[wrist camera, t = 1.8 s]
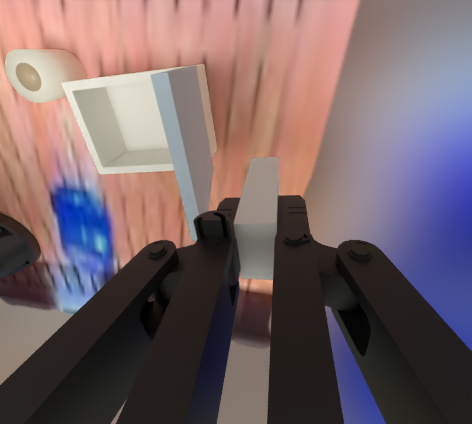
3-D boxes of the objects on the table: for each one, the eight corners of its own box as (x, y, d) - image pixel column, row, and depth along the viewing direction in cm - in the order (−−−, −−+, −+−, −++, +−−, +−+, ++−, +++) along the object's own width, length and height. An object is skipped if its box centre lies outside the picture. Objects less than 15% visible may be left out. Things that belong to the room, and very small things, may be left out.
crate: (126, 155, 44) (99, 174, 37) (99, 76, 38) (61, 82, 31) (217, 149, 41) (205, 168, 34) (204, 63, 35) (186, 66, 28)
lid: (192, 241, 21) (204, 239, 21) (150, 74, 15) (167, 72, 15) (205, 169, 34) (213, 168, 34) (186, 66, 28) (195, 65, 28)
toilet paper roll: (59, 97, 40) (21, 105, 34) (40, 52, 37) (-6, 52, 31) (93, 93, 39) (60, 100, 33) (76, 46, 36) (36, 46, 30)
